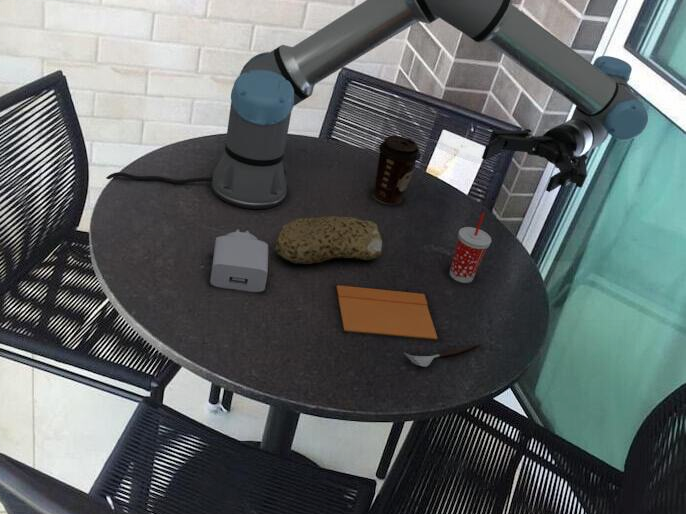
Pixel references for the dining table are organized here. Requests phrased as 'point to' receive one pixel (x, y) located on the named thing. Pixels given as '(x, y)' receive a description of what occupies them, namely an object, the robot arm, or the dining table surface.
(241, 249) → the charger
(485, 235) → the beverage cup
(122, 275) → the dining table surface
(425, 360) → the fork
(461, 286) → the dining table surface
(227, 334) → the dining table surface
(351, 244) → the sponge
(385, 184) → the coffee cup
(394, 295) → the cloth
